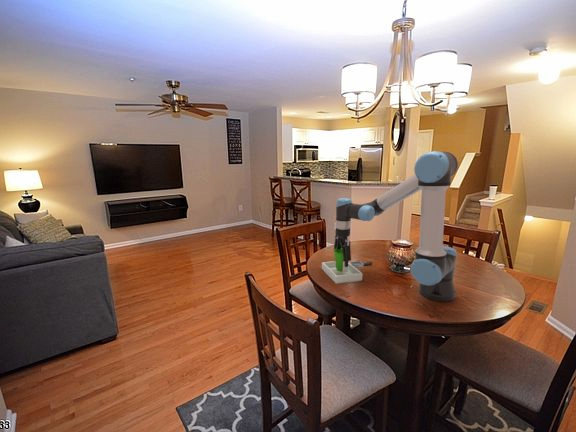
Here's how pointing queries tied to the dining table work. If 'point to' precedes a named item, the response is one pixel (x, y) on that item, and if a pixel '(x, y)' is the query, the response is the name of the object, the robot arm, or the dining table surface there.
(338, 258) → the cup
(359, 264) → the scoop
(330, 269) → the bin
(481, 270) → the dining table surface
